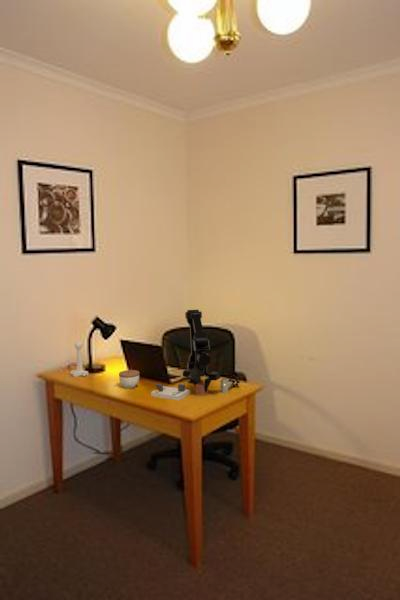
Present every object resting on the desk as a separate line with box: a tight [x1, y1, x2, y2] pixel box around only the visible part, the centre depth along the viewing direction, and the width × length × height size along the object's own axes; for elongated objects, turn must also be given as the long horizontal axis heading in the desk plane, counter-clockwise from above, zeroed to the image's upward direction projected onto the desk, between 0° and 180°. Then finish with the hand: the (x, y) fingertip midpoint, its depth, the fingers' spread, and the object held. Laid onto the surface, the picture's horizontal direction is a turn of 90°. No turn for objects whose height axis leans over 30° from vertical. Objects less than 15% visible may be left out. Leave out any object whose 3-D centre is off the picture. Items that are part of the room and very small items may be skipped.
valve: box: [220, 374, 241, 394], centre depth 239 cm, size 7×7×12 cm
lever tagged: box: [155, 383, 164, 391], centre depth 233 cm, size 2×3×3 cm, turn 63°
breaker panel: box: [150, 385, 191, 401], centre depth 233 cm, size 11×16×3 cm
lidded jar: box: [118, 369, 140, 390], centre depth 247 cm, size 11×11×9 cm
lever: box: [177, 383, 186, 391], centre depth 232 cm, size 2×3×3 cm, turn 63°
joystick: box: [69, 340, 89, 378], centre depth 271 cm, size 11×8×20 cm
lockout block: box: [195, 381, 209, 396], centre depth 235 cm, size 4×4×5 cm
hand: (201, 391), depth 235 cm, fingers closed on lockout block, 4 cm apart
